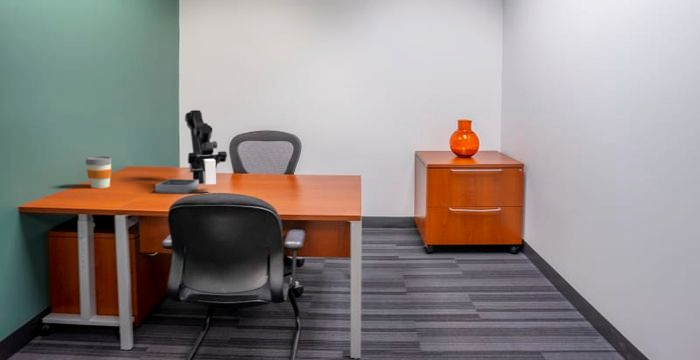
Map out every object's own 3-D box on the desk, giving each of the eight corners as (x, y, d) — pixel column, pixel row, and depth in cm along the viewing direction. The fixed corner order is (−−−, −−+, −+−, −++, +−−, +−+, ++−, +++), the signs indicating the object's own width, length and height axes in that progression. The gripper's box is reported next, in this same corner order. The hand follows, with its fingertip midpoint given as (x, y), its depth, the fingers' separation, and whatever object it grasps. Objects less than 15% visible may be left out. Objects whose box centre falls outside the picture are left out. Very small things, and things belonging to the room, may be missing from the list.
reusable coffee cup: (112, 188, 314) (110, 159, 312) (86, 189, 311) (84, 160, 308) (113, 184, 326) (112, 156, 324) (88, 185, 322) (86, 156, 320)
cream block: (203, 183, 306) (203, 159, 304) (213, 182, 308) (213, 158, 306) (205, 184, 301) (205, 160, 299) (216, 184, 303) (215, 160, 301)
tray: (169, 186, 321) (168, 178, 320) (199, 187, 319) (198, 179, 319) (155, 192, 303) (155, 184, 302) (187, 193, 302) (186, 185, 301)
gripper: (187, 136, 300) (192, 162, 292) (225, 135, 308) (231, 160, 300) (185, 150, 309) (190, 175, 301) (222, 149, 316) (228, 173, 308)
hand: (210, 170), depth 302 cm, fingers closed on cream block, 5 cm apart
